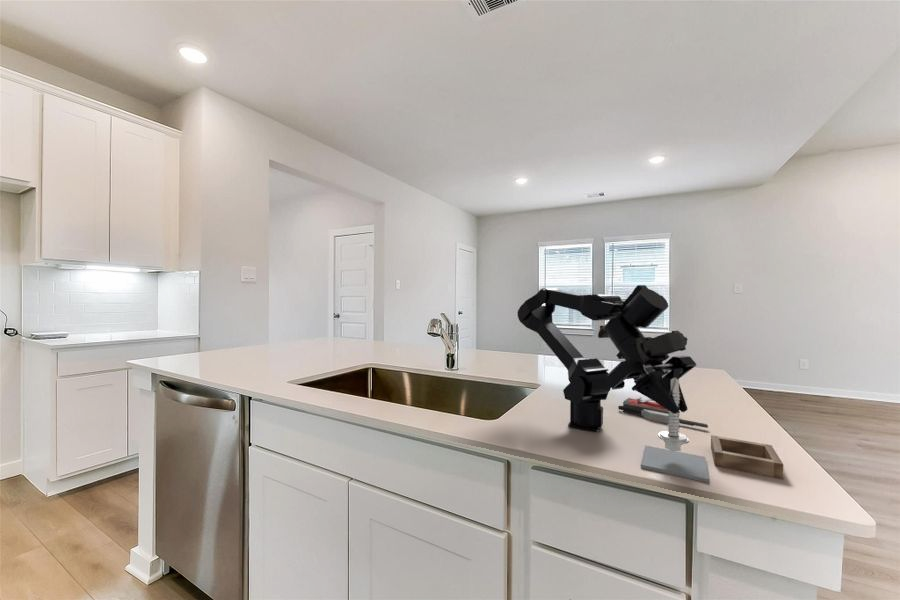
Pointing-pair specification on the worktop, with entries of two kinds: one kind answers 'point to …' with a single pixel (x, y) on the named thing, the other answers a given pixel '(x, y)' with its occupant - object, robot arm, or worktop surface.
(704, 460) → the mat
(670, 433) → the screw
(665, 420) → the walkie-talkie
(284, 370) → the worktop surface
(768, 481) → the worktop surface
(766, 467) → the square wooden frame
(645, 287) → the robot arm
